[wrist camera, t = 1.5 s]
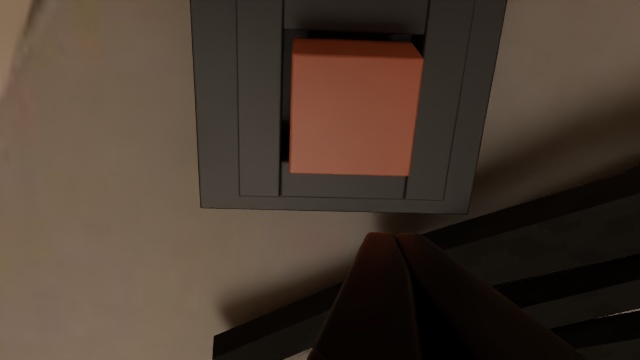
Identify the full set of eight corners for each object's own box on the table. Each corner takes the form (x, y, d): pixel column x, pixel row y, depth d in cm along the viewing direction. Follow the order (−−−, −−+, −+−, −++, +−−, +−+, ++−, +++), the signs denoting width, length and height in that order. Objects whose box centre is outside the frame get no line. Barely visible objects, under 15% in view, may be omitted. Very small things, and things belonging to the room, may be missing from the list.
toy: (284, 409, 27) (1014, 195, 22) (277, 507, 23) (1182, 271, 18) (188, 253, 23) (1054, -56, 18) (157, 337, 19) (1284, -35, 14)
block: (456, 192, 21) (483, 244, 18) (207, 185, 21) (191, 238, 18) (501, -78, 17) (547, -71, 14) (195, -93, 17) (171, -90, 14)
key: (399, 150, 17) (409, 177, 15) (289, 147, 17) (288, 174, 15) (412, 41, 16) (425, 58, 14) (292, 36, 15) (291, 53, 14)
